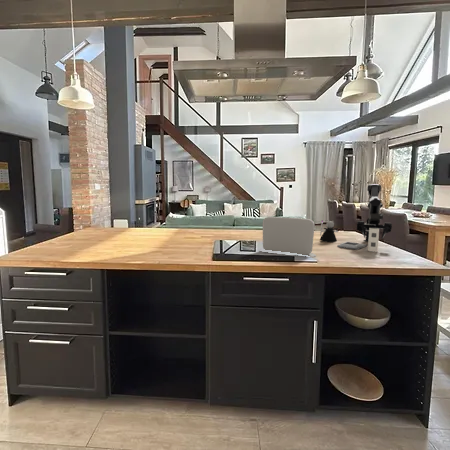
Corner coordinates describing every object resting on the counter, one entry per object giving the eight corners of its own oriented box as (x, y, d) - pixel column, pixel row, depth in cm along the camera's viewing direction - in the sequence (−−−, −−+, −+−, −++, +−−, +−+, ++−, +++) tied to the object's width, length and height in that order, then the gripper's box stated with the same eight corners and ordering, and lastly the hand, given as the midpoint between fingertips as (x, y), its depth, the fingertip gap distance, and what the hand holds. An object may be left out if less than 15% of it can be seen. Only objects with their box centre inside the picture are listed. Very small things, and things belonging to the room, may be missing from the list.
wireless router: (317, 254, 177) (319, 218, 175) (314, 258, 168) (316, 220, 166) (262, 249, 190) (263, 215, 188) (257, 252, 181) (258, 216, 179)
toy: (335, 238, 222) (338, 218, 215) (337, 243, 216) (340, 223, 209) (317, 238, 223) (320, 218, 217) (319, 243, 217) (322, 222, 210)
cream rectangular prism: (367, 249, 193) (369, 227, 192) (376, 250, 192) (378, 228, 190) (368, 251, 189) (369, 228, 187) (377, 251, 187) (379, 229, 185)
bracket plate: (347, 243, 211) (348, 239, 211) (366, 246, 203) (367, 242, 203) (336, 247, 199) (337, 243, 199) (356, 250, 191) (356, 245, 191)
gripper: (358, 207, 195) (356, 228, 186) (393, 209, 188) (393, 230, 179) (357, 219, 203) (356, 239, 194) (390, 221, 196) (390, 242, 187)
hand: (373, 237), depth 188 cm, fingers open, 9 cm apart
